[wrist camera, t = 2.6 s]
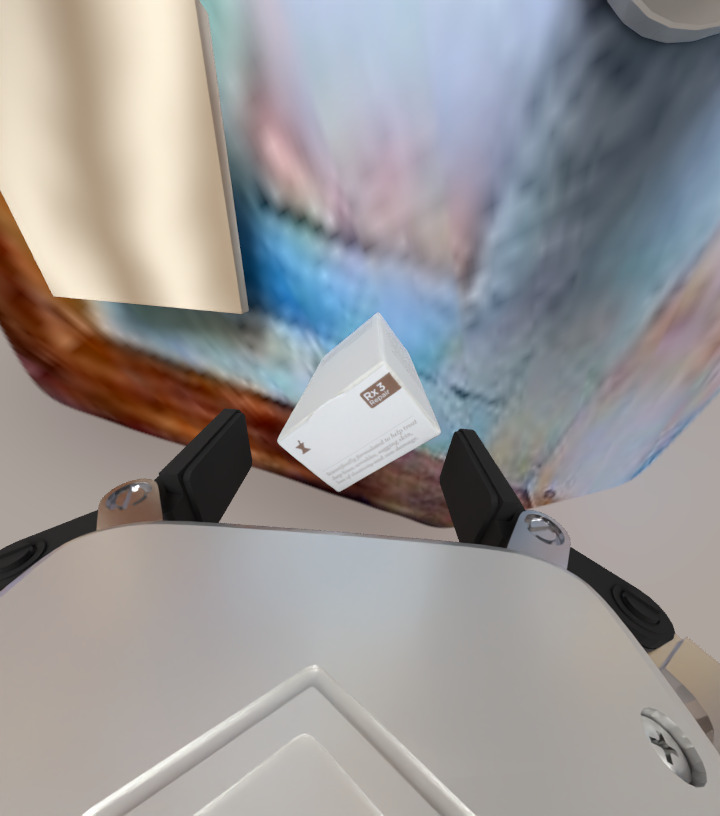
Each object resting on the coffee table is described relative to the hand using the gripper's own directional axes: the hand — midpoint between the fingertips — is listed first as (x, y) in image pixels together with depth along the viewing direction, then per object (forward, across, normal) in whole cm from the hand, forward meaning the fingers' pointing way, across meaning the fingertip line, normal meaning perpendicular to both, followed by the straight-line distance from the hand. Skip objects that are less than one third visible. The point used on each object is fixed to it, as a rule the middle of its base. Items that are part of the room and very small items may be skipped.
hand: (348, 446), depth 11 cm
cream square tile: (+12, +14, -10) cm, 20 cm away
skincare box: (+12, -1, -1) cm, 12 cm away
